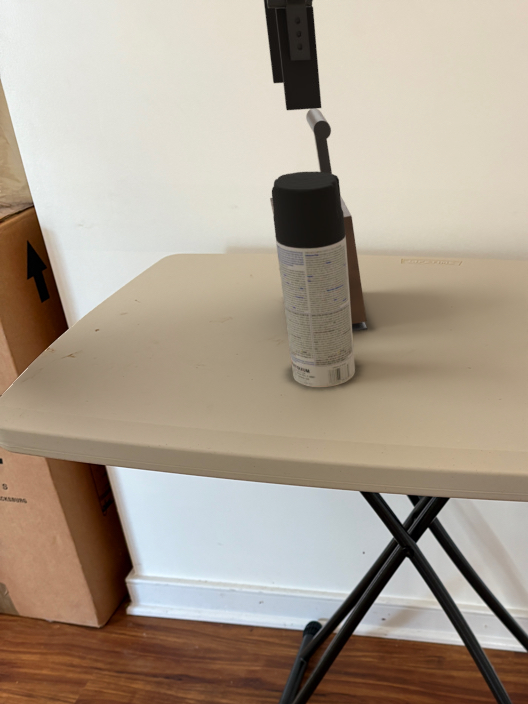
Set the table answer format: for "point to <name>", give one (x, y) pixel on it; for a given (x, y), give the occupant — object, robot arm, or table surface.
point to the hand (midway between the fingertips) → (295, 94)
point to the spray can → (314, 277)
